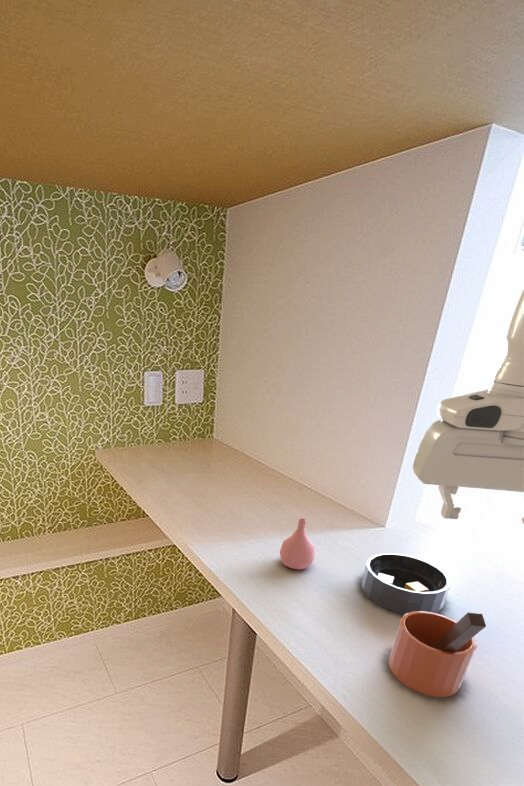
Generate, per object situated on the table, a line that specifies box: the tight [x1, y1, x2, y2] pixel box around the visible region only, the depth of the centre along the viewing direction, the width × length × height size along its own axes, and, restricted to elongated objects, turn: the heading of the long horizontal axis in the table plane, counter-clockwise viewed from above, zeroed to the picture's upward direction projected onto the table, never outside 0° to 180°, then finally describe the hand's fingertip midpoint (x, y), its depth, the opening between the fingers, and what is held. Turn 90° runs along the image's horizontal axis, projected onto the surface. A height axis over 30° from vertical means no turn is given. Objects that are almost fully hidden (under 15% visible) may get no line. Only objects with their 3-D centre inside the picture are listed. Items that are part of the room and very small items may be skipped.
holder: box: [388, 611, 478, 698], centre depth 68 cm, size 10×10×9 cm
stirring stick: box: [432, 612, 487, 652], centre depth 63 cm, size 2×2×18 cm
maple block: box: [377, 573, 394, 584], centre depth 90 cm, size 3×3×3 cm
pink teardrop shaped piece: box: [279, 517, 316, 570], centre depth 98 cm, size 8×8×12 cm
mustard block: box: [404, 581, 429, 592], centre depth 88 cm, size 3×3×3 cm
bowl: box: [360, 552, 451, 615], centre depth 89 cm, size 15×15×6 cm
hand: (489, 521), depth 55 cm, fingers open, 8 cm apart
